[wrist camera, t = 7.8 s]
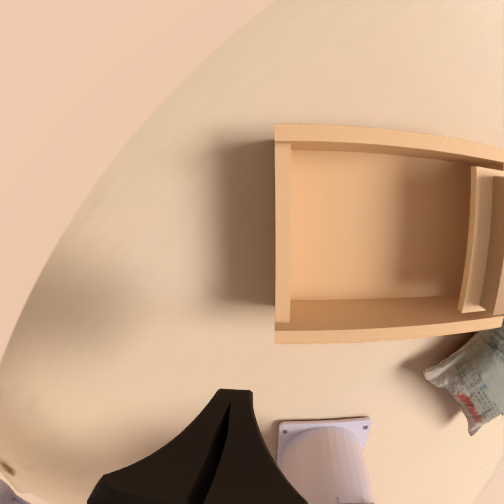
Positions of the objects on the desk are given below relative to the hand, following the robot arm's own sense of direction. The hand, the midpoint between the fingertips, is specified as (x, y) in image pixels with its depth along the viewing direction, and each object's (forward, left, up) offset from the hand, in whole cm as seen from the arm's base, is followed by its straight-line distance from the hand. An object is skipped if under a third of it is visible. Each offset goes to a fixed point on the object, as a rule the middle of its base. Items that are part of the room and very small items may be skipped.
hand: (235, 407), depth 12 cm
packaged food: (-6, -20, -10) cm, 23 cm away
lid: (+6, -20, -5) cm, 22 cm away
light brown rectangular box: (+6, -9, -10) cm, 15 cm away
